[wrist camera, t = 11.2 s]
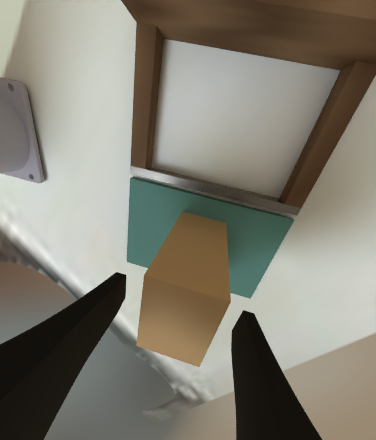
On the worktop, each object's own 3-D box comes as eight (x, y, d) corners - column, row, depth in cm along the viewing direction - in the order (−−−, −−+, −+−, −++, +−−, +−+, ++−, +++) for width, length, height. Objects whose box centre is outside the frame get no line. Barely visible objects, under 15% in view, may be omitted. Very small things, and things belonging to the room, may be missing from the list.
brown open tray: (137, 171, 14) (108, 180, 11) (147, 7, 10) (104, -70, 6) (291, 209, 13) (316, 234, 10) (377, 45, 9) (483, -21, 5)
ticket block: (171, 262, 17) (136, 345, 10) (182, 211, 15) (144, 275, 7) (208, 273, 17) (199, 366, 10) (226, 222, 14) (230, 301, 7)
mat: (128, 259, 19) (126, 261, 18) (132, 177, 15) (130, 178, 14) (249, 295, 18) (250, 298, 17) (292, 218, 13) (294, 220, 13)
